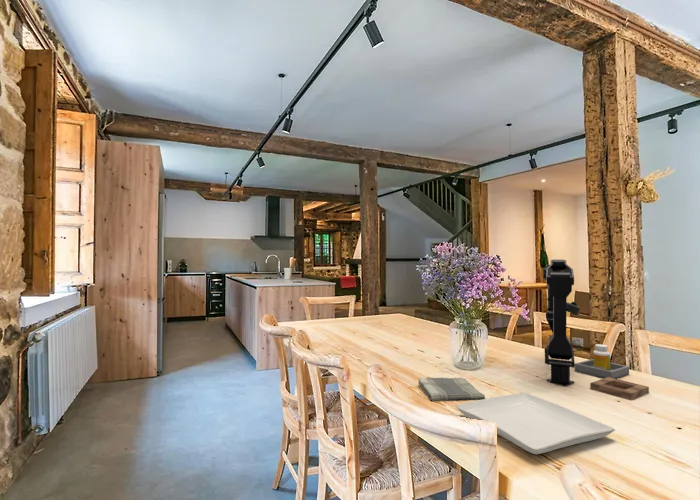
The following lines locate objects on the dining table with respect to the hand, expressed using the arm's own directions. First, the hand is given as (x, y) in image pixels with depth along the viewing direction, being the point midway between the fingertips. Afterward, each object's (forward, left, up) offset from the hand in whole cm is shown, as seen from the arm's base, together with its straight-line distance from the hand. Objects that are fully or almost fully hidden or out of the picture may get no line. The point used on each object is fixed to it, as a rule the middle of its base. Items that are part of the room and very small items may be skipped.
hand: (556, 334), depth 155 cm
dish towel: (-57, +3, -14) cm, 59 cm away
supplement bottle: (+6, -14, -12) cm, 20 cm away
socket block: (-10, -27, -13) cm, 32 cm away
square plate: (-60, -28, -14) cm, 68 cm away
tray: (+6, -14, -13) cm, 20 cm away
